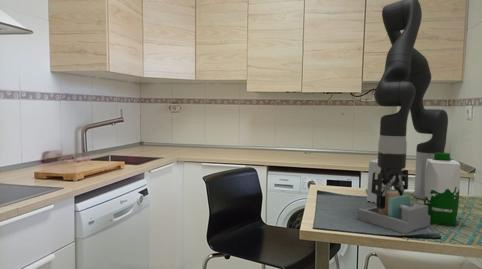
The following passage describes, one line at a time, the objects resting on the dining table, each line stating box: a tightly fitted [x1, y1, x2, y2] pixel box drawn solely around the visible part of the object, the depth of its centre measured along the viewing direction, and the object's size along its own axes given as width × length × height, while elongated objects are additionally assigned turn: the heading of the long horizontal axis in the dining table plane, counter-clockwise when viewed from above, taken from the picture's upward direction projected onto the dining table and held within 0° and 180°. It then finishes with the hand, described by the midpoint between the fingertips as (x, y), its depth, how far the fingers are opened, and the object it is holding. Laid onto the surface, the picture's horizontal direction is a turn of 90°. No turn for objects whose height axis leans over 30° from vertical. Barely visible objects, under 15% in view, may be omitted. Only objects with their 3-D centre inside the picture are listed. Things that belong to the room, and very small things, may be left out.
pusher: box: [388, 194, 411, 220], centre depth 100 cm, size 9×3×7 cm, turn 124°
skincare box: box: [366, 158, 393, 204], centre depth 127 cm, size 8×6×15 cm
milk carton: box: [423, 152, 462, 227], centre depth 104 cm, size 9×9×20 cm
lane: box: [356, 203, 431, 235], centre depth 103 cm, size 12×15×6 cm
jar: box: [378, 188, 400, 216], centre depth 104 cm, size 6×6×9 cm
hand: (389, 206), depth 104 cm, fingers open, 8 cm apart
